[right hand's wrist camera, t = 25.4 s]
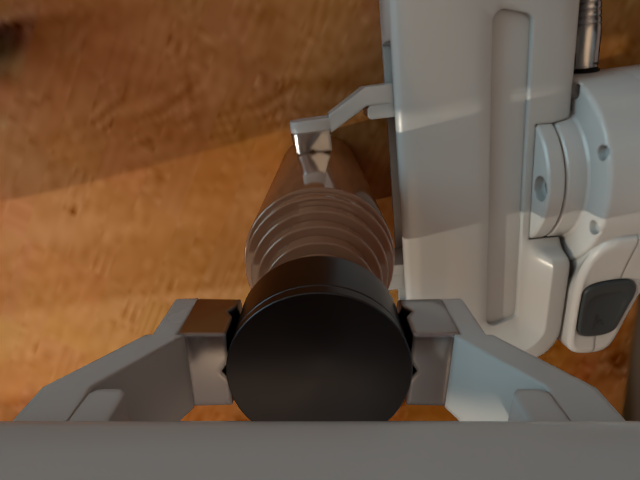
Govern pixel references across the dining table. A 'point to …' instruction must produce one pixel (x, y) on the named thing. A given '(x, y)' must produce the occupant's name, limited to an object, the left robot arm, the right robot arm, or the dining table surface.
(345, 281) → the cap
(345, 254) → the bottle
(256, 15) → the dining table surface
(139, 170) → the dining table surface
